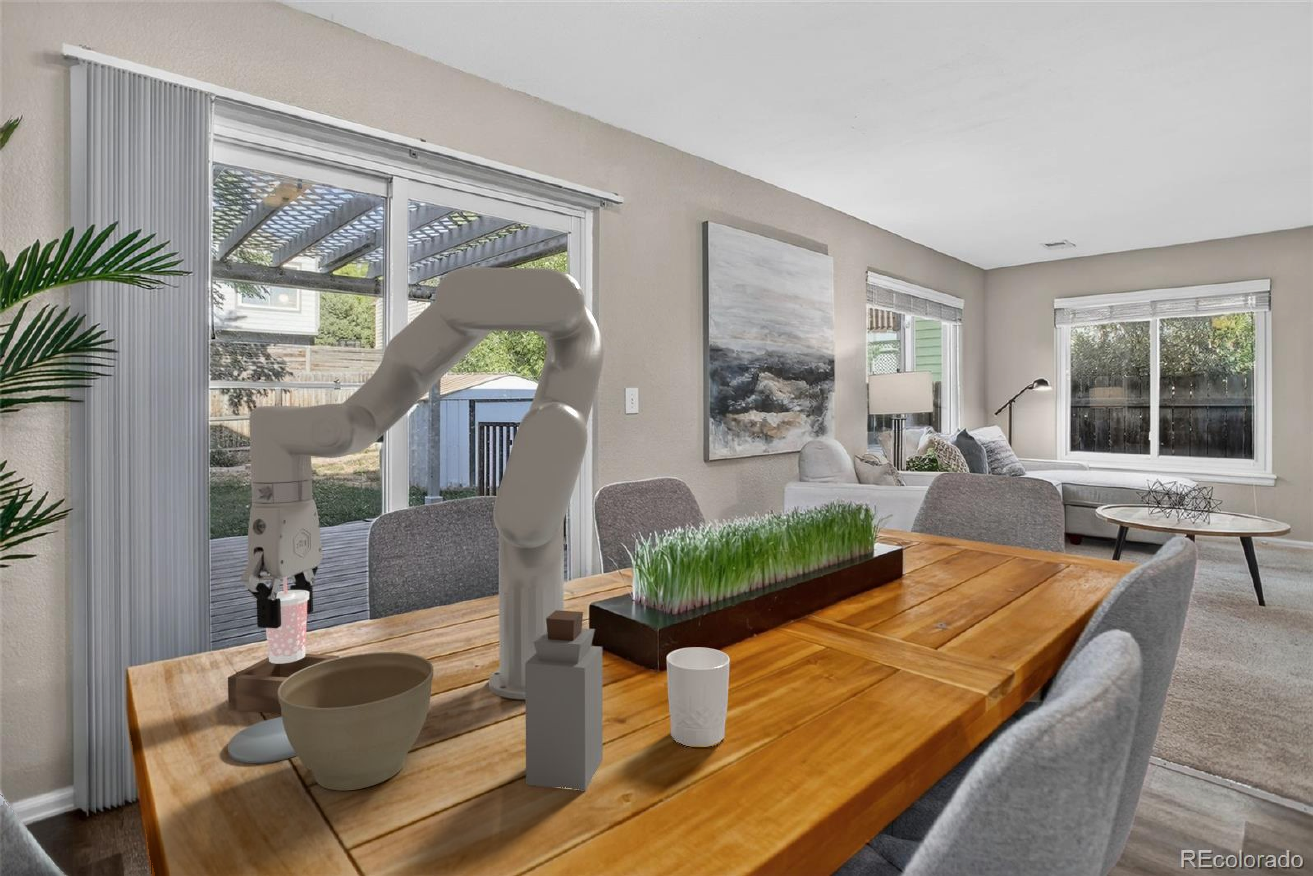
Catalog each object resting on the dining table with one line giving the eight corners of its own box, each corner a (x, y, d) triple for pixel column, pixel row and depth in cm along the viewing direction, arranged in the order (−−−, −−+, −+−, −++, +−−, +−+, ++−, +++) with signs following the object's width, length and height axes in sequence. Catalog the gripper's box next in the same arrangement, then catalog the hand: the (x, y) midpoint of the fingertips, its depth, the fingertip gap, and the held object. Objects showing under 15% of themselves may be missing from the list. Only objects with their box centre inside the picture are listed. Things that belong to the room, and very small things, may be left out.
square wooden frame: (339, 685, 104) (339, 655, 104) (295, 714, 94) (294, 681, 94) (278, 681, 106) (277, 652, 106) (228, 710, 96) (227, 677, 96)
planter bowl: (316, 739, 87) (314, 653, 87) (448, 735, 89) (447, 650, 88) (250, 814, 71) (248, 708, 71) (413, 807, 72) (411, 704, 72)
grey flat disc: (347, 724, 92) (347, 718, 92) (291, 766, 81) (291, 759, 81) (270, 718, 93) (270, 712, 93) (206, 759, 82) (205, 752, 82)
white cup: (711, 757, 83) (711, 674, 82) (654, 741, 87) (654, 661, 87) (739, 731, 90) (740, 654, 89) (686, 717, 94) (686, 643, 93)
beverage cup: (270, 652, 102) (267, 556, 101) (315, 648, 104) (313, 554, 103) (256, 667, 96) (253, 566, 96) (305, 663, 98) (302, 563, 97)
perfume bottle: (585, 791, 76) (584, 626, 75) (526, 784, 77) (524, 622, 76) (602, 760, 82) (602, 608, 81) (547, 755, 83) (546, 605, 83)
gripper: (263, 502, 90) (267, 641, 90) (343, 486, 107) (346, 603, 108) (210, 501, 91) (215, 638, 92) (298, 486, 108) (301, 602, 109)
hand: (286, 618), depth 100 cm, fingers closed on beverage cup, 6 cm apart
